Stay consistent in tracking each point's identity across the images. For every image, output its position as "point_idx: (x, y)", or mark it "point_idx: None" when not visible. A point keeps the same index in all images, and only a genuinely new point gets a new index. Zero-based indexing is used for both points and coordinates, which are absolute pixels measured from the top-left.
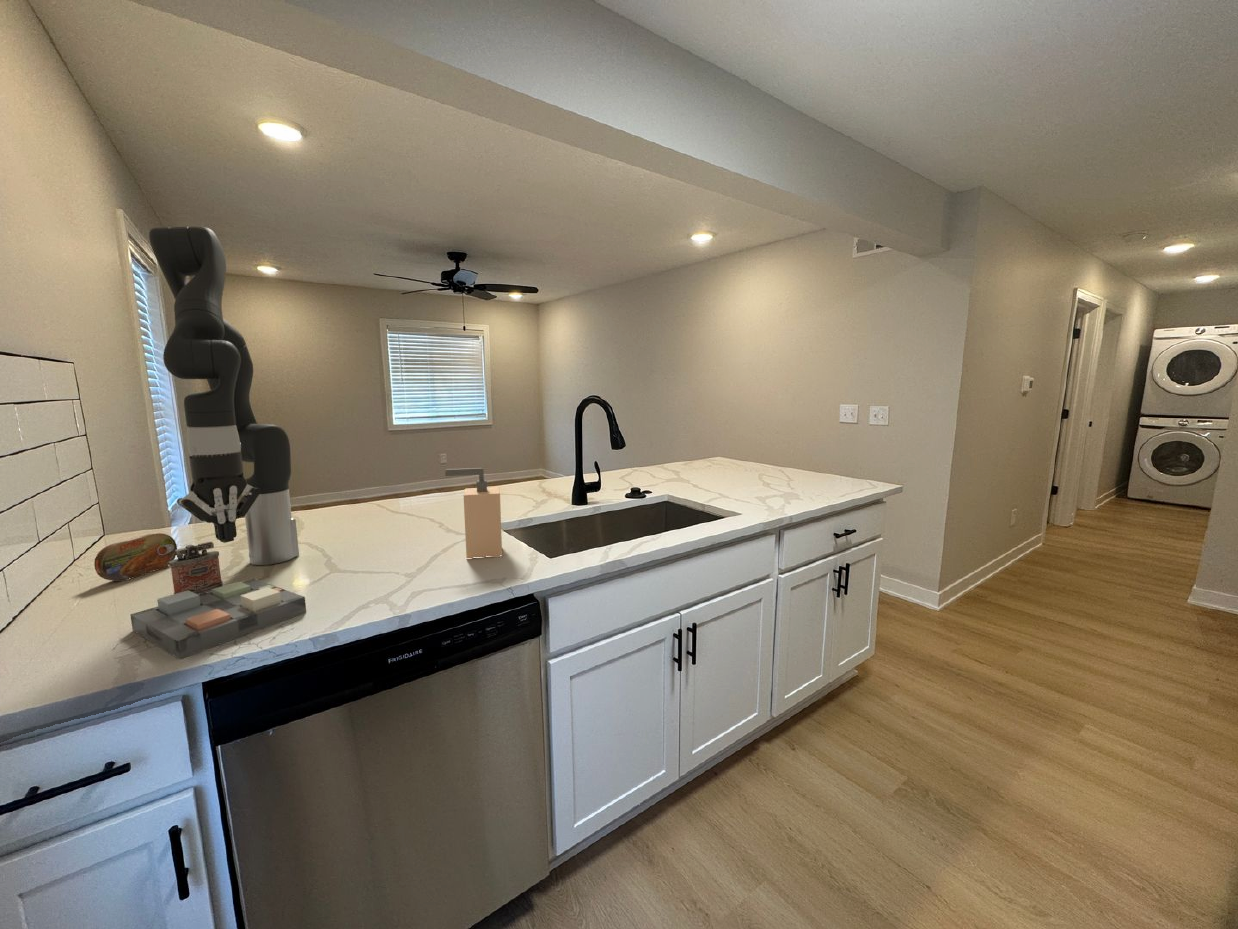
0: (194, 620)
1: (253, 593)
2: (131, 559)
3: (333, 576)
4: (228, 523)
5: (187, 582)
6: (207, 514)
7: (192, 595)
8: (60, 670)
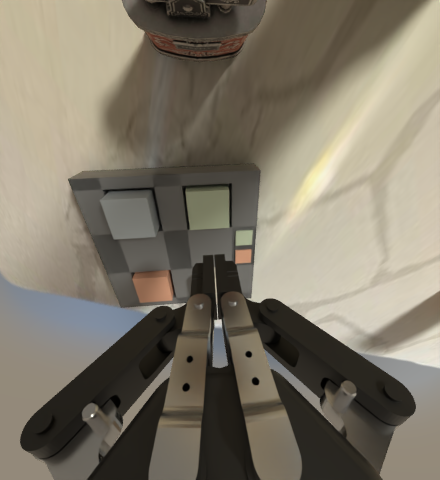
0: (139, 290)
1: None
2: None
3: (353, 200)
4: (220, 317)
5: (170, 47)
6: (160, 366)
7: (147, 230)
8: (20, 231)
